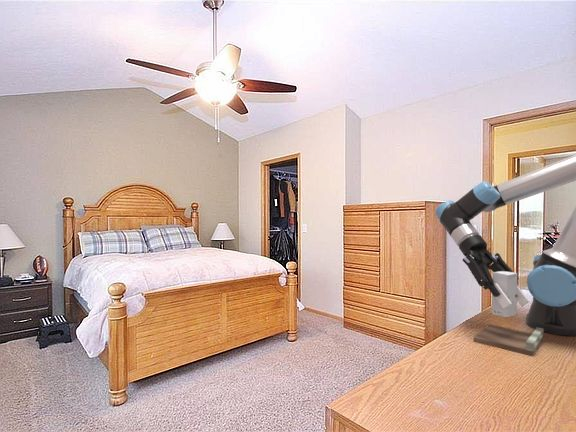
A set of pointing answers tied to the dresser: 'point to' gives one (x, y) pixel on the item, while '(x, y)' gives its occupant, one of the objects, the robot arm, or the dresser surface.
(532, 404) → the dresser surface
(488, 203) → the robot arm
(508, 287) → the skincare box
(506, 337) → the walnut board
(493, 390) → the dresser surface
